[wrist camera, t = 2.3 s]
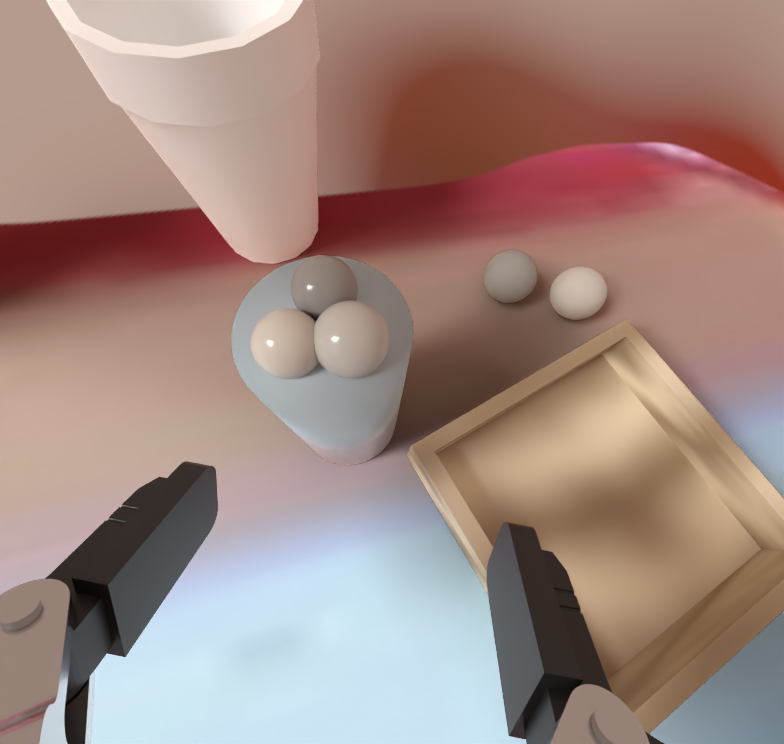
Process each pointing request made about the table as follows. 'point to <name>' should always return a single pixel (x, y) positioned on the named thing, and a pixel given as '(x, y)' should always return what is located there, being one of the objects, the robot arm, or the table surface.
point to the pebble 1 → (510, 276)
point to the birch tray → (621, 511)
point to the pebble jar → (327, 353)
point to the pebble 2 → (578, 293)
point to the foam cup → (218, 105)
